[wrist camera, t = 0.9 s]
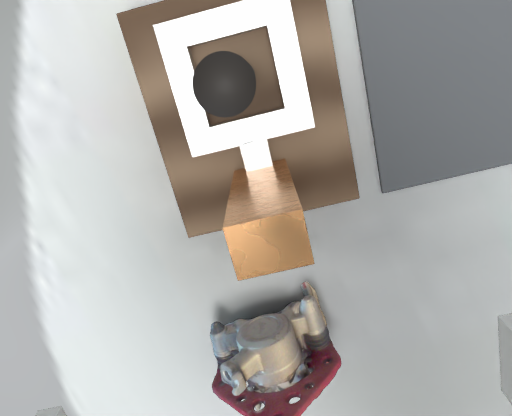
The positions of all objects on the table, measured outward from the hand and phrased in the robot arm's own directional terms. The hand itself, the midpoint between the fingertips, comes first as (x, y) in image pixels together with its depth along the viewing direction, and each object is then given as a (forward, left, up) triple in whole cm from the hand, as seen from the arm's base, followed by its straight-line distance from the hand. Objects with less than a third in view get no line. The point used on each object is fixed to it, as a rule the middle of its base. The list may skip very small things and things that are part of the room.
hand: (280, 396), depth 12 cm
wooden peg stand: (+6, 0, -24) cm, 25 cm away
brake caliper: (-15, +3, -24) cm, 28 cm away
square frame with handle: (+6, 0, -21) cm, 22 cm away
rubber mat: (+5, -17, -24) cm, 30 cm away
